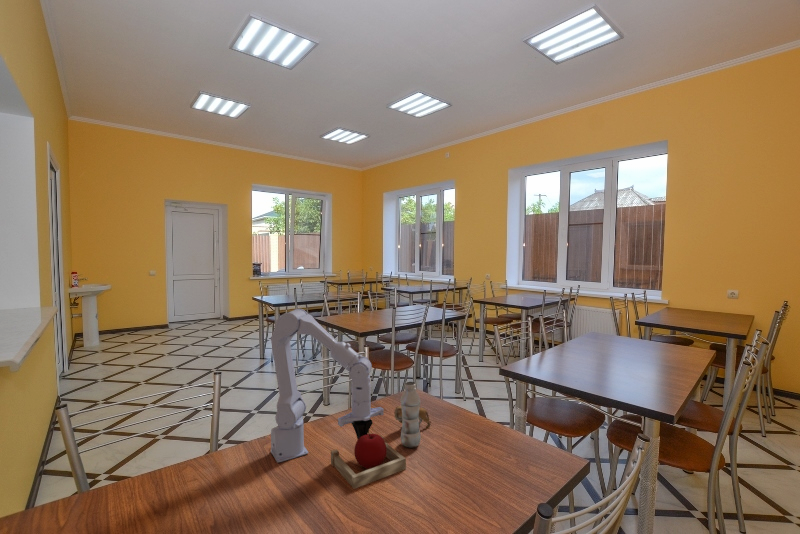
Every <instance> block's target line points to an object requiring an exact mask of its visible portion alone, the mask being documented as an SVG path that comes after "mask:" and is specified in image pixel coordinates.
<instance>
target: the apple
mask: <svg viewBox="0 0 800 534" xmlns="http://www.w3.org/2000/svg"><path fill="white" fill-rule="evenodd" d="M381 436H382V435H381ZM381 436H380V434H377V433H370V429H369V430H368V434H366V435H363V436H361V437H360V438H359V439H357V440H356V442H355V445H354V450H353V451H354V453H353V454H354V458H355V460H356V463H358V465H360V467H363V468H364V469H365V470H368V469H371V468H374V467H377V466H379V465H382V464H384V462H385V459H386V458H387V457H386V452H387V449H386V444H385V442H386V441H385V438H384V439H383V438H382V437H381Z"/></svg>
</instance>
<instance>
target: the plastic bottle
mask: <svg viewBox="0 0 800 534" xmlns="http://www.w3.org/2000/svg"><path fill="white" fill-rule="evenodd" d="M400 406H401V408H402V423H401V427H402V429H401V430H400V441H401V442H400V443H401V444H402V445H403V446H404V447H406V448H416V447H418V446H419V444H420V443H421V440H422V439H421V438H422V437H421V431H420V425H419V408H421V407H420V406H421V397H420V395H419V393H418V392H417V383H416V382H415V381H412V380H411V381H409V380H408V381H406V382H404V392H403V393H402V394H401V396H400Z"/></svg>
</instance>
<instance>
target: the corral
mask: <svg viewBox="0 0 800 534" xmlns="http://www.w3.org/2000/svg"><path fill="white" fill-rule="evenodd" d="M379 435H380V434H379ZM380 436H381V437H382V438H383V439H384V440H385V437H384V436H382V434H381V435H380ZM385 444H386V449H387V452H386V457H385V458H388V460H390V461H388V462H386V463H382V464H381V465H379V466H377V467H374V468H371V469H365V470H363V471H361V472H360V471H359V472H358V473H355V472H354V470H353V469H351V467H350V466H349V465H348V464H347V463H346V462H345V461H344V460H343V458H342V457H341V456H340V452H339V450H338V449H333V450H331V451H330V465H331V466H332V467H333V468H335V469H336V470H337V472H339V474H340V475H341V476H342V477H343V478H344V479H345V480H346V482H347V483H348V484H349V486H350V487H352V489H353V490H355V489H358V488H360V487H363V486H365V485H369V484H372V483H373V482H376V481H378V480H380V479H384V478H386V477H389V476H391V475H393V474H397V473H399V472H401V471H403V470H406V469H407V459H406V457H405V456H403V454H401V453H399V452H398V451H397V450H396V449H394V448H393V447H392V446H391V445H390V444H388V443H387V442H386V441H385Z"/></svg>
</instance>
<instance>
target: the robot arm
mask: <svg viewBox="0 0 800 534" xmlns="http://www.w3.org/2000/svg"><path fill="white" fill-rule="evenodd" d="M296 334H297V335H310V336H311V337H312V338H313V339H315V340H316V341H317V342H318V343H320V344H321V345H322V346H324V347H325V348H327V349H328V350H329V351H330V352H329V353H330V357H331V358H332V359H333V360H335V361H336V362H337V363H338V364H339V365H340V366H341V367H342V368H344V369H345V370H346V371H347V372H348V375H349V377H350V379H351V412H349V413H347V414H345V415H343V416H340V417H338V418H337V425H338V426H339V427H341V428H342V427H344V426H345V425H349V424H351V425H352V428H353V429H354V430H353V431H354V432H355V435H356V439H357V440H358V439H359V438H360V437H361V436H363V435H366V434H369V433H368V430H369V431H370V429H371V427H372V425H373V420H372V418H373V417H378V416H384V410H385V409H384V408H383V407H381V406H379V407H371V406H372V403H371V402H372V401H371V397H372V396H371V394H372V393H371V389H372V387H371V385H372V384H371V375H370V373H371V372H372V367H373V366H372V365H373V364H372V362H371V361H370V359H369V358H368V357H367V356H363V355H362V354H361V353H360V354H358V352H357V351H356V350H354V349H353V348H352V344H350V343H349V342H347V343H346V342H345V341H338V340H336V338H334V336H333V335H331V334H330V333H329V332H328V331H327V330H326V329H325V328H324V327H323V326H322V325H321V324H320V323H319V322H318V321H317V320H316V319H315V318H314V316H313V315H312V314H310V313H308V312H307V311H306V310H305V309H303V308H294V309H293V310H291V311H288V312H285V313H283V314H281V315H280V317H278V318H277V319H276V320H275V326H274V329H273V332H272V335H271V337H270V341H271V348H272V354H273V356H272V357H273V361H274V368H275V372H276V373H275V374H276V380H277V386H278V393H279V397H278V401H277V403H276V414H275V423H276V425H277V426H274V427H273V428H271V431H270V454H271V455H272V456H273V457H274V459H275V462H276V463H282V462H285V461H289V460H292V459H296V458H298V457H302V456H304V455H307V454H309V451H308V450H307V448H306V447H305V441H304V440H305V435H304V434H305V433H304V432H305V431H304V430H305V428H304V419H303V416H304V414H305V412H306V409H307V404H306V402H305V400H304V399H303V396H302V393H301V392H300V391H299V390H298V386H297V380H296V379H297V378H296V372H295V368H294V367H295V365H294V359H293V353H292V345H291V340H292V339H293V338H294V337H295V335H296Z"/></svg>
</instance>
